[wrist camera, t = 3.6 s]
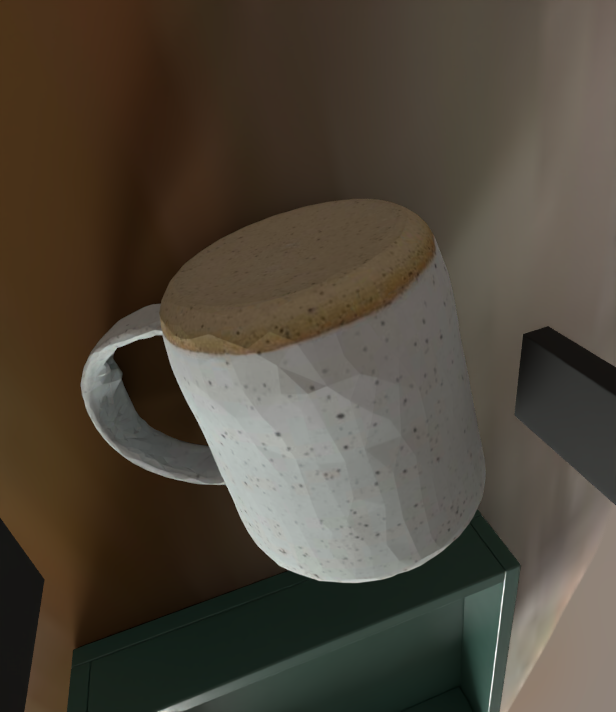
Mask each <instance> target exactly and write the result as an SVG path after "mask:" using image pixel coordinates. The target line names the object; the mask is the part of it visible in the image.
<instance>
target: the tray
mask: <svg viewBox="0 0 616 712" xmlns="http://www.w3.org/2000/svg"><path fill="white" fill-rule="evenodd" d="M520 568H521V565H520V563H519V562H518V561H517V559H516V558H515V557H514V556H513V554H512V553H511V552H510V550H509V549H508V548H507V547H506V545H505V544H504V543H503V541H502V540H501V539H500V538H499V536H498V535H497V534H496V533H495V531H494V530H493V529H492V527H491V526H490V525H489V524H488V522H487V521H486V520H485V519H484V517H483V516H482V514H481V513H480V512H479V510H478V509H477V510H476V512H475V514H474V516H473V518H472V520H471V521H470V523H469V524H468V526H467V527H466V528H465V530H464V531H463V532H462V534H461V535H460V536H459V537H458V538H457V539H456V540H454V541H453V542H452V543H451V544H450V545H449V546H448V547H447V548H446V549H444V550H443V551H442V552H441V553H439V554H438V555H436V556H435V557H433V558H432V559H430V560H429V561H427V562H426V563H424V564H423V565H421V566H419V567H416V568H414V569H412V570H410V571H407V572H403V573H399V574H396V575H395V576H393V577H389V578H386V579H382V580H376V581H368V582H361V583H340V582H330V581H318V580H315V579H312V578H309V577H306V576H303V575H300V574H297V573H294V572H292V571H290V570H289V571H287V572H284V573H281V574H279V575H276V576H273V577H270V578H268V579H265V580H262V581H259V582H257V583H254V584H251V585H249V586H246V587H243V588H240V589H238V590H235V591H232V592H230V593H227V594H224V595H221V596H219V597H216V598H213V599H210V600H208V601H205V602H202V603H200V604H197V605H194V606H191V607H189V608H186V609H183V610H180V611H178V612H175V613H172V614H170V615H167V616H164V617H161V618H159V619H156V620H153V621H151V622H148V623H145V624H142V625H140V626H137V627H134V628H131V629H129V630H126V631H123V632H121V633H118V634H115V635H112V636H110V637H107V638H104V639H101V640H99V641H96V642H93V643H91V644H88V645H85V646H82V647H80V648H77V649H74V650H73V657H72V669H71V677H70V687H69V697H68V707H67V712H500V705H501V698H502V691H503V685H504V678H505V671H506V664H507V657H508V650H509V644H510V637H511V630H512V623H513V616H514V609H515V603H516V596H517V589H518V582H519V575H520Z"/></svg>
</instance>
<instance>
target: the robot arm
mask: <svg viewBox="0 0 616 712" xmlns="http://www.w3.org/2000/svg"><path fill="white" fill-rule="evenodd" d="M514 415H515V416H516V417H517V418H518V419H519V420H520V421H521V422H523V423H524V424H525V425H526V426H527V427H528V428H529V429H530V430H532V431H533V432H534V433H535V434H536V435H537V436H538V437H539V438H541V439H542V440H543V441H544V442H545V443H546V444H547V445H548V446H550V447H551V448H552V449H553V450H554V451H555V452H556V453H557V454H559V455H560V456H561V457H562V458H563V459H564V460H565V461H567V462H568V463H569V464H570V465H571V466H572V467H573V468H574V469H576V470H577V471H578V472H579V473H580V474H581V475H582V476H583V477H585V478H586V479H587V480H588V481H589V482H590V483H591V484H592V485H594V486H595V487H596V488H597V489H598V490H599V491H600V492H601V493H603V494H604V495H605V496H606V497H607V498H608V499H609V500H610V501H612V502H613V503H614V504H615V505H616V367H614V366H613V365H611V364H609V363H608V362H606V361H605V360H603V359H601V358H600V357H598V356H596V355H595V354H593V353H591V352H590V351H588V350H586V349H585V348H583V347H581V346H580V345H578V344H577V343H575V342H573V341H572V340H570V339H568V338H567V337H565V336H563V335H562V334H560V333H558V332H557V331H555V330H554V329H552V328H550V327H549V326H547V327H544V328H541V329H538V330H534V331H531V332H528V333H525V334H523V340H522V349H521V359H520V368H519V377H518V386H517V395H516V405H515V414H514ZM43 585H44V578H43V577H42V576H41V574H40V573H39V571H38V570H37V569H36V567H35V566H34V564H33V563H32V562H31V560H30V559H29V557H28V556H27V555H26V553H25V552H24V550H23V549H22V548H21V546H20V545H19V543H18V542H17V541H16V539H15V538H14V537H13V535H12V534H11V532H10V531H9V530H8V528H7V527H6V525H5V524H4V523H3V521H2V520H1V518H0V712H24V709H25V703H26V696H27V690H28V683H29V677H30V670H31V664H32V657H33V651H34V644H35V638H36V631H37V625H38V618H39V612H40V605H41V599H42V592H43Z"/></svg>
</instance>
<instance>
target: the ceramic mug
mask: <svg viewBox="0 0 616 712" xmlns="http://www.w3.org/2000/svg"><path fill="white" fill-rule="evenodd" d="M155 335H163V339H164V343H165V347H166V350H167V354H168V358H169V361H170V365H171V367H172V370H173V372H174V375H175V377H176V380H177V382H178V384H179V386H180V389H181V391H182V393H183V395H184V397H185V399H186V401H187V403H188V405H189V407H190V409H191V410H192V412H193V414H194V416H195V418H196V420H197V421H198V423H199V425H200V427H201V429H202V432H203V434H204V436H205V438H206V440H207V443H208V445H209V446H205V445H198V444H193V443H188V442H184V441H180V440H178V439H175V438H172V437H170V436H167V435H165V434H164V433H162V432H160V431H157V430H155V429H153V428H152V427H150V426H149V425H148V424H147V423H146V421H144V420H143V419H142V418H140V417H139V415H138V413H137V412H136V411H135V408H134V406H133V404H132V402H131V400H130V398H129V396H128V394H127V391H126V389H125V387H124V385H123V382H122V374H123V373H122V371H121V370H120V368H119V367H118V365H117V364H116V362H115V361H114V359H113V357H114V352H115V350H116V349H117V348H118V347H121V346H124V345H126V344H129V343H131V342H133V341H136V340H138V339H146V338H150V337H152V336H155ZM81 390H82V396H83V399H84V402H85V407H86V410H87V412H88V414H89V416H90V418H91V420H92V422H93V423H94V425H95V427H96V429H97V430H98V431H99V433H100V434H101V435H102V437H103V438H104V439H105V440H106V441H107V442H108V443H109V444H110V445H111V446H112V447H113V448H114V449H115V450H116V451H117V452H119V453H120V454H121V455H122V456H124V457H125V458H126V459H128V460H129V461H131V462H132V463H134V464H136V465H138V466H140V467H142V468H144V469H146V470H148V471H151V472H153V473H156V474H159V475H162V476H164V477H168V478H171V479H176V480H181V481H186V482H190V483H195V484H210V485H226V486H227V488H228V490H229V492H230V494H231V496H232V498H233V501H234V503H235V506H236V508H237V511H238V513H239V516H240V518H241V520H242V521H243V523H244V525H245V527H246V529H247V531H248V533H249V534H250V536H251V537H252V539H253V540H254V541H255V543H256V544H257V545H258V547H259V548H260V549H262V550H263V551H264V552H265V553H266V554H267V555H268V556H269V557H270V558H271V559H272V560H274V561H275V562H276V563H277V564H278V565H279V566H281V567H283V568H285V569H288V570H290V571H292V572H294V573H297V574H300V575H303V576H306V577H309V578H312V579H315V580H318V581H330V582H340V583H361V582H368V581H376V580H382V579H386V578H389V577H393V576H395V575H396V574H399V573H403V572H407V571H410V570H412V569H414V568H416V567H419V566H421V565H423V564H424V563H426V562H427V561H429V560H430V559H432V558H433V557H435V556H436V555H438V554H439V553H441V552H442V551H443V550H444V549H446V548H447V547H448V546H449V545H450V544H451V543H452V542H453V541H454V540H456V539H457V538H458V537H459V536H460V535H461V534H462V532H463V531H464V530H465V528H466V527H467V526H468V524H469V523H470V521H471V520H472V518H473V516H474V514H475V512H476V510H477V508H478V506H479V504H480V502H481V498H482V495H483V491H484V485H485V477H486V470H485V458H484V454H483V449H482V444H481V439H480V434H479V430H478V424H477V418H476V412H475V408H474V403H473V397H472V392H471V387H470V381H469V376H468V371H467V366H466V361H465V356H464V351H463V346H462V340H461V335H460V329H459V322H458V316H457V310H456V305H455V299H454V294H453V289H452V285H451V281H450V277H449V274H448V271H447V268H446V265H445V263H444V260H443V257H442V255H441V252H440V250H439V247H438V244H437V242H436V239H435V237H434V235H433V233H432V232H431V230H430V228H429V227H428V225H427V224H426V223H425V222H424V221H423V220H422V219H421V218H420V217H419V216H418V215H417V214H415V213H414V212H412V211H410V210H408V209H407V208H405V207H403V206H400V205H398V204H395V203H393V202H389V201H383V200H378V199H348V200H339V201H330V202H324V203H319V204H314V205H309V206H305V207H302V208H298V209H295V210H291V211H288V212H285V213H281V214H278V215H274V216H271V217H269V218H267V219H264V220H262V221H259V222H256V223H253V224H251V225H248V226H246V227H244V228H242V229H239V230H237V231H235V232H233V233H231V234H229V235H227V236H225V237H223V238H221V239H219V240H218V241H216V242H215V243H213V244H211V245H210V246H208V247H207V248H205V249H204V250H202V251H201V252H199V253H198V254H197V255H195V256H194V257H193V258H191V259H190V260H189V261H188V262H186V263H185V264H184V265H183V266H182V267H181V269H180V270H179V271H178V272H177V273H176V275H175V276H174V277H173V278H172V280H171V281H170V283H169V285H168V287H167V289H166V291H165V294H164V296H163V298H162V301H161V304H152V305H149V306H146V307H143V308H141V309H139V310H138V311H136V312H134V313H132V314H130V315H128V316H126V317H124V318H122V319H121V320H119V321H118V322H117V323H116V324H115V325H114V326H113V327H112V328H111V329H110V330H109V331H108V332H107V333H106V334H105V335H104V336H103V337H102V338H101V339H100V340H99V342H98V343H97V345H96V346H95V347H94V349H93V350H92V351H91V353H90V355H89V357H88V360H87V362H86V364H85V366H84V369H83V375H82V380H81Z"/></svg>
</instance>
